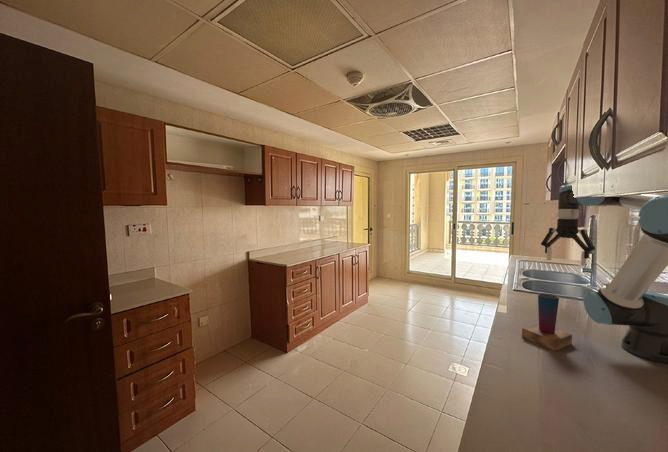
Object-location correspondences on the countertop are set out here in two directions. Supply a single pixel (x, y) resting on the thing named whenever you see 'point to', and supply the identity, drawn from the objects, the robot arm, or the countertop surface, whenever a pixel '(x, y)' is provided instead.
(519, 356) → the countertop surface
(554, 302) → the cup
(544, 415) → the countertop surface
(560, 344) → the base block
